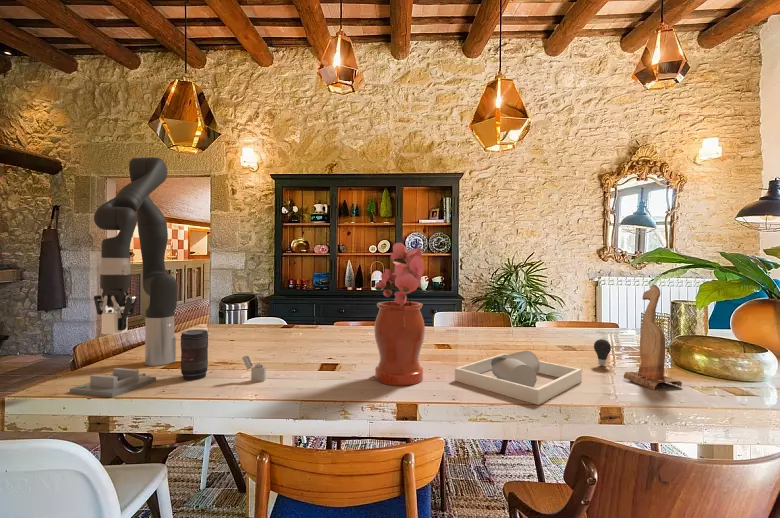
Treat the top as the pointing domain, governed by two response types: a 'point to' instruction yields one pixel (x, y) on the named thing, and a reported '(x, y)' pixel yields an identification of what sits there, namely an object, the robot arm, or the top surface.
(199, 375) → the camera lens
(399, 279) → the potted flower
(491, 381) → the roll tray
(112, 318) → the charger block
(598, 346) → the light bulb
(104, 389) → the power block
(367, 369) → the top surface
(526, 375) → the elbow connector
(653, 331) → the bird sculpture
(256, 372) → the lighter
